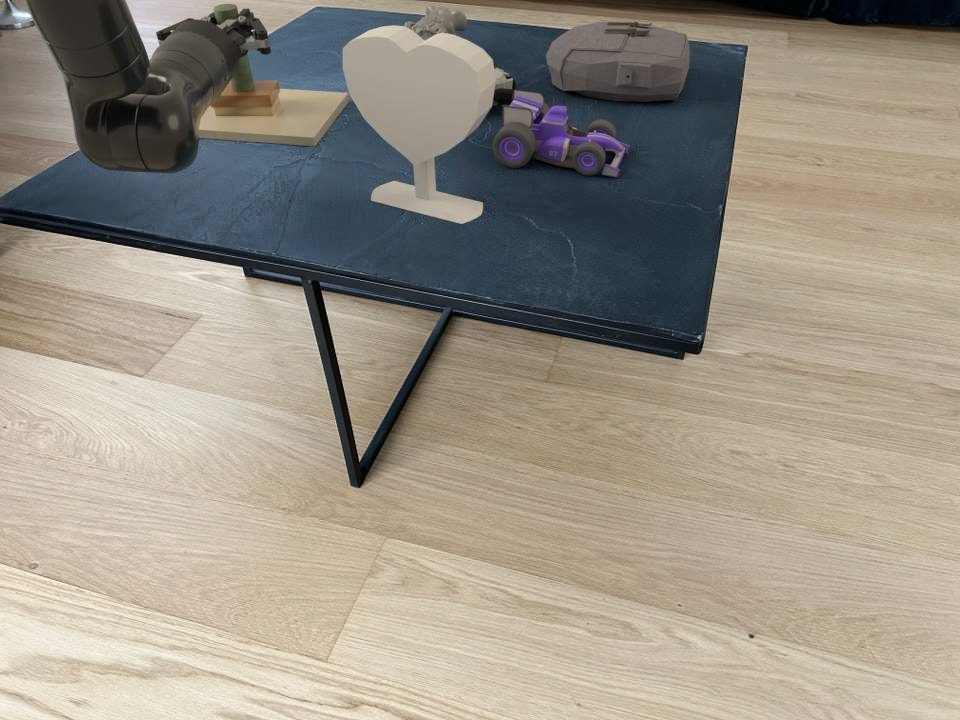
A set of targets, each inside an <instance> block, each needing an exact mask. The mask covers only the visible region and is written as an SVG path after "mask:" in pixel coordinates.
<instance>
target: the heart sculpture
mask: <svg viewBox="0 0 960 720" xmlns="http://www.w3.org/2000/svg"><path fill="white" fill-rule="evenodd" d="M411 29H412V28H411ZM411 29H409V28H407V27H404V25H396V24H393V25H384V26H379V27H376V28H371V29H369V30H367V31H365V32H364V33H361V35H358V36H357V37H355V38H353V39H351V40H350V41H349V42H347V44H345V45H344V46H343V47H342V71H343V75H344V78H345V83H346V87H347V90H348V95H349V97H350V98H351V100H352V101H353V102H354V104H355V106H356V108H357V110H358V111H359V112H360V114H361V116H362V118H363V119H364V120H365V121H366V122H367V124H368V125H369V126H370V127H371V128H372V129H373V130H374V131H375V132H376V133H377V135H379V136H380V137H381V139H383V141H385V142H386V143H387V144H389V145H390V146H391V147H393V149H395V150H396V152H398V153H400V155H402V156H403V157H404V158H406V159H407V160H408V161H409V162H410V163H411V164H412V169H413V181H414V185H413V184H409V183H405V182H400V181H397V180H392V181H389V182H386V183H384V184H381V185H378V186H377V187H375V188H374V189H373V190H372V192H371V195H370V201H371V202H374V203H378V204H383V205H387V206H390V207H394V208H398V209H402V210H405V211H410V212H413V213H417V214H421V215H425V216H429V217H431V218H436V219H440V220H443V221H444V220H445V221H448V222H452V223H456V224H460V225H463V224H466V223H469V222H471V221H473V220H475V219H477V218H479V217H481V216H482V214H483V211H484V202H483V201H479V200H475V199H470V198H467V197H463V196H458V195H454V194H450V193H446V192H442V191H438V190H437V183H436V163H435V157H438V156H440V155H443V154H446V153H447V152H449V151H450V150H451V149H453V148H454V147H456V146H457V145H459V144H460V143H461V142H463V141H464V140H465V139H467V137H469V136H470V135H471V134H473V133H474V132H475V131H476V130H477V129H478V128H479V127H480V125H481V124H482V122H483V121H484V119H486V116H488V115H487V114H488V113H489V112H490V110H491V109H492V108H493V106H492V103H493V96H494V90H495V83H496V79H495V72H494V67H495V66H494V60H493V58H492V57H491V56H490V55H489V54H488V53H487V51H486V50H485V49H484V48H482V47H481V46H479V45H477V44H475V43H473V42H472V41H470V40H468V39H466V38H463V37H460V36H458V35H457V34H456V35H452V34H447V33H440V34H436V35H434V36H432V37H430V38H429V39H427V40H425V41H424V40H423V39H422V38H421V37H420V36H419V35H417V34H416V33H415V32H414V31H412V30H411Z"/></svg>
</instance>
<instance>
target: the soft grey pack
mask: <svg viewBox="0 0 960 720" xmlns="http://www.w3.org/2000/svg"><path fill="white" fill-rule="evenodd" d="M690 50H691V49H690V42H689V38H688V35H687V34H686V33H684V32H679V31H676V30H671V29H667V28H664V27H660V26H654V25H653V23H652V22H650V23H640V22H637V21H634V22H632V21H597V22H593V23H586V24H582V25H577V26H573V27H571V28H570V29H568V30H567V31H565V32H564V33H562V34H561V35H559V36H558V37H556V39H554V40H553V41H551V43H550V46H549V48H548V50H547V52H546V54H545V58H546V65H547V67H548V71H549V74H550V77H551V84H552V85H553V86H555V87H556V88H558V89H560V90H561V91H563V92H572V93H576V94H578V95H579V94H580V95H582V96H585V97H588V98H594V99H602V100H606V101H615V102H640V103H641V102H645V103H646V102H647V103H648V102H659V101H675V100H677V99H678V97H679V96H680V94H681V92H682V90H683V89H684V86H685V83H686V79H687V76H688V72H689V68H690V58H691V51H690Z"/></svg>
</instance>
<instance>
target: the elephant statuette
mask: <svg viewBox="0 0 960 720" xmlns="http://www.w3.org/2000/svg"><path fill="white" fill-rule="evenodd" d="M403 26H404V27H407V28H409V29H411V30H412V31H414V32H415V33H416V34H417V35H419V36H420V37H421V38H422V39H423V40H424V41H425V40H427V39H429V38H430V37H432V36H434V35H436V34H440V33H447V34H452V35H456V36H457V32H465V31H466V29H467V27H468V18H467V16H466V13H464V11H462V10H460V9H454V10H451V9H449V8H446V7H435V6H433V5H431V4H428V5H427V6H426V10H425V15H424V16H422V17H421V19H419V20H418V21H417V22H413V21H411V20H408V21H406V22H405V23H404V25H403ZM456 31H457V32H456Z"/></svg>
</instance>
